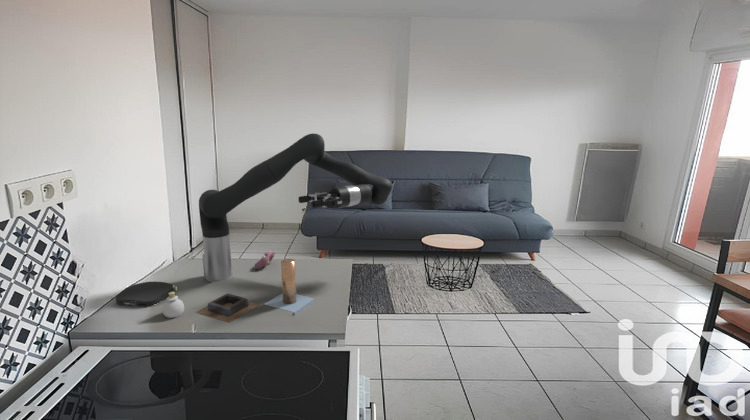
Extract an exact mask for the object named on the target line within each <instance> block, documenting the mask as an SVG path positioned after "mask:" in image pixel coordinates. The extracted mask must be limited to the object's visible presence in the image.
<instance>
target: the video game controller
mask: <svg viewBox="0 0 750 420" xmlns="http://www.w3.org/2000/svg"><path fill="white" fill-rule="evenodd" d="M275 255H276V253H275V252H274V251H271V250H269V251H267V252H265V253H264V254H263V256H262V257H261V258H260V259H259V260H258V261H257V262H256V263H254V266H253V268H254V270H260V269H262V268H266V267H267V266H269V265H270V264H271V262H272V260H273V259H274V257H275Z"/></svg>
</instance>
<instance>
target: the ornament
mask: <svg viewBox="0 0 750 420" xmlns="http://www.w3.org/2000/svg"><path fill="white" fill-rule="evenodd" d="M173 287H174V288H175V291H178V287H175V285H173ZM175 291H174V292H170V293H168V294H169V296H168V297H167V298H166V299H165V300H166V301H165V302H164V303H163V305H162V313H163V316H165V317H166V318H169V319H175V318H178V317H180V316H182V314H183V313H184V311H185V304H184V302H183V301H182V300H181V299H179V296H178V295H175V294H176V292H175Z"/></svg>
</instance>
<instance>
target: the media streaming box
mask: <svg viewBox="0 0 750 420" xmlns="http://www.w3.org/2000/svg"><path fill="white" fill-rule="evenodd" d="M173 286H174V284H172V283H169V282H163V281H144V282H140V283H135V284H132V285H130V286H127V287H126V288H124V289H123V290H121V291H120V292H119V293H118V294H117V295H115V301H116V305H118V304H119V305H118V306H122V305H126V306H125V307H133V306H150V307H152V306H151V305H154V304H157V303H159V302H160V301H162V300H163V301H164V300H166V299H167V298H168V297H169V294H168V293H170V292H175V290H174V289H175V286H174V287H173ZM165 298H166V299H165ZM163 301H162V302H163ZM160 303H161V302H160ZM160 303H159V304H160ZM127 305H128V306H127ZM157 305H158V304H157ZM154 306H155V305H154Z"/></svg>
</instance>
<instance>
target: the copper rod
mask: <svg viewBox="0 0 750 420" xmlns="http://www.w3.org/2000/svg"><path fill="white" fill-rule="evenodd" d="M280 263H281V265H280V267H281V286H282V287H281V289H282V293H283V303H284V304H293V303H295V302H296V301H297V299H296V294H297V279H296V278H297V277H296V275H297V274H296V260H295V259H294V258H285V259H282V260H281V261H280Z"/></svg>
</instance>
